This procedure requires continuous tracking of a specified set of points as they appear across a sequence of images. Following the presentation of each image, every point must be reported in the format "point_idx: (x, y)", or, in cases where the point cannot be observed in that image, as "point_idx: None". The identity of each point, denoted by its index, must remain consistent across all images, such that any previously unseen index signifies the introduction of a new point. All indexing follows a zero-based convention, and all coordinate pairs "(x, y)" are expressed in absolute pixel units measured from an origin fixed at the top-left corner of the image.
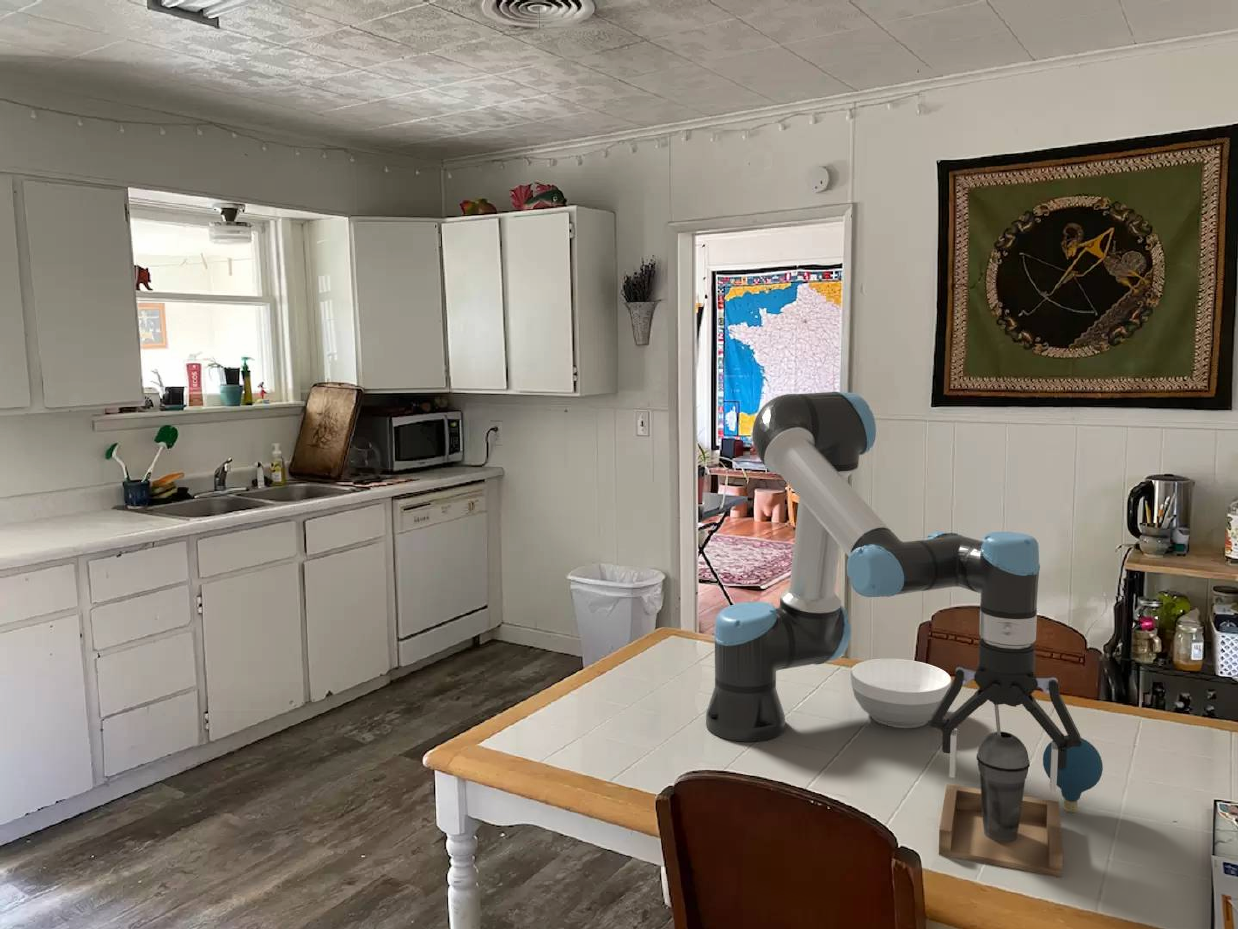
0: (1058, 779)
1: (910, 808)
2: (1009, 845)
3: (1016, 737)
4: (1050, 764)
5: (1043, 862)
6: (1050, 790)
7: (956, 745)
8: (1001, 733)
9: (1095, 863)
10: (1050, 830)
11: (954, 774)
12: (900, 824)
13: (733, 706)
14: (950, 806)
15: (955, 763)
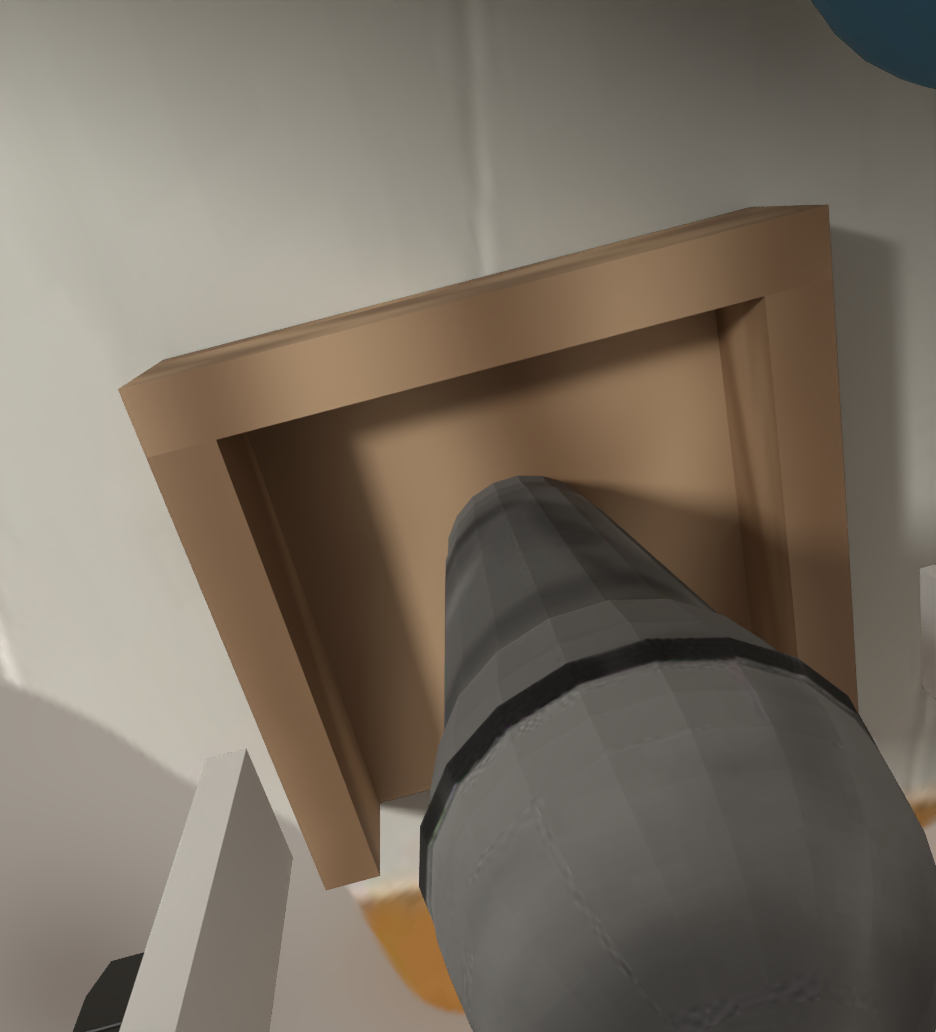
0: (896, 75)
1: (13, 494)
2: None
3: (915, 1029)
4: (900, 25)
5: None
6: (933, 696)
7: (210, 968)
8: (702, 946)
9: (920, 487)
10: (800, 598)
11: (286, 877)
12: (69, 675)
13: None
14: (274, 661)
15: (264, 901)
